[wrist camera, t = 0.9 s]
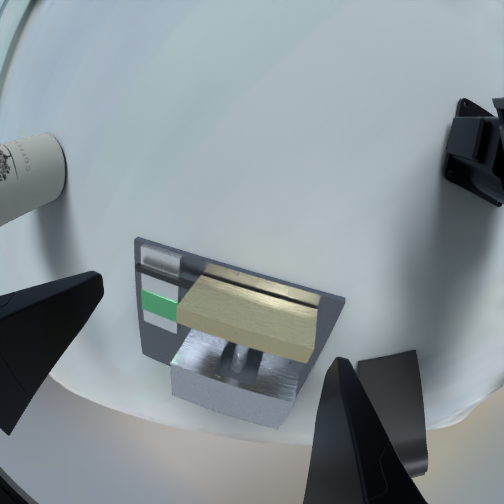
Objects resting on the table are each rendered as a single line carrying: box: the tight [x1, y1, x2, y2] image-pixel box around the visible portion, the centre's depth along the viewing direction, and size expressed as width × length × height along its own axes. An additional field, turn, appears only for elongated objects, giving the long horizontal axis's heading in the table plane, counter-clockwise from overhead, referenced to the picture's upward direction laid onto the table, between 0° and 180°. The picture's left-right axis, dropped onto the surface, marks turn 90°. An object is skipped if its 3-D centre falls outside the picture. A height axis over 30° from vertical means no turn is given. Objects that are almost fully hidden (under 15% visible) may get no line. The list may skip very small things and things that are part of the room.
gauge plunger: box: [135, 263, 317, 373], centre depth 23 cm, size 16×8×5 cm, turn 78°
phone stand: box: [359, 350, 428, 478], centre depth 20 cm, size 9×6×12 cm, turn 18°
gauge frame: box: [134, 237, 345, 429], centre depth 25 cm, size 19×16×5 cm
